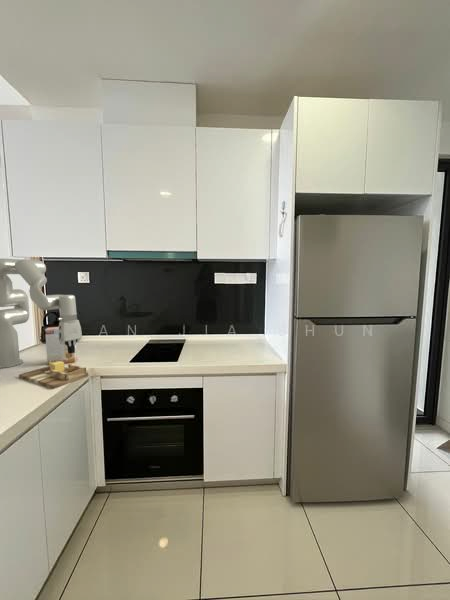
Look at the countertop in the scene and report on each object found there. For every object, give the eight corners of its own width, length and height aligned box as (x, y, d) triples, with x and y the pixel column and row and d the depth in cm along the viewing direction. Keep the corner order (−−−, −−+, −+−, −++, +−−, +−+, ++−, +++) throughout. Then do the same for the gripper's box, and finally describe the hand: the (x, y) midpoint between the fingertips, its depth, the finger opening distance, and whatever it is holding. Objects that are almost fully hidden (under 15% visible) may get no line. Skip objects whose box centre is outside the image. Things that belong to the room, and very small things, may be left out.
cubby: (50, 375, 130) (49, 370, 130) (70, 369, 139) (70, 363, 139) (66, 380, 124) (66, 374, 124) (86, 373, 133) (86, 367, 133)
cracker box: (77, 359, 160) (75, 325, 159) (75, 362, 155) (73, 327, 153) (50, 362, 156) (48, 326, 154) (47, 365, 150) (44, 328, 148)
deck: (19, 377, 132) (18, 374, 132) (54, 367, 147) (54, 364, 147) (53, 388, 119) (53, 385, 119) (88, 376, 134) (88, 373, 134)
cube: (50, 372, 135) (49, 363, 135) (59, 369, 139) (59, 361, 139) (55, 373, 133) (54, 364, 133) (64, 370, 137) (64, 362, 137)
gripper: (58, 321, 132) (61, 357, 133) (86, 316, 145) (89, 349, 146) (49, 320, 135) (52, 355, 137) (77, 316, 148) (80, 348, 150)
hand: (71, 352), depth 142 cm, fingers closed
